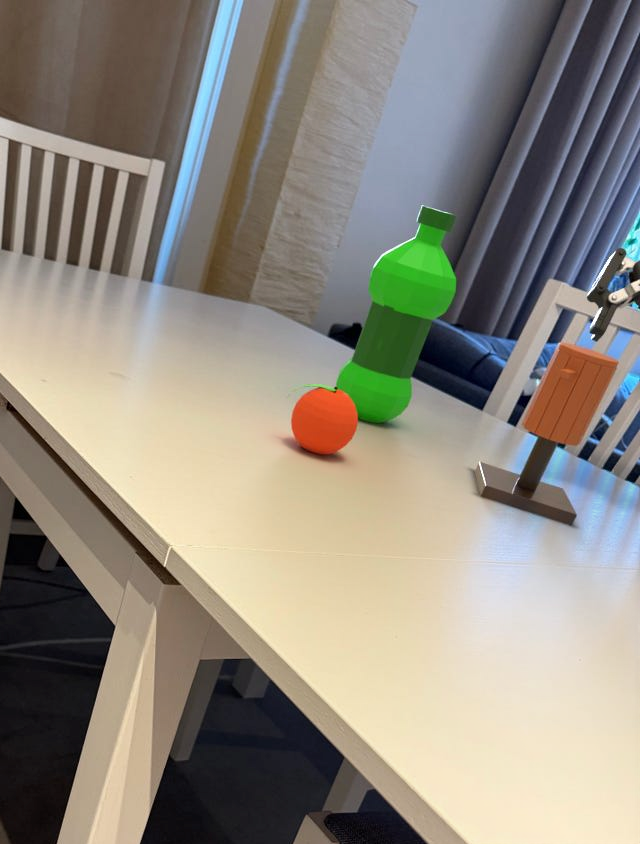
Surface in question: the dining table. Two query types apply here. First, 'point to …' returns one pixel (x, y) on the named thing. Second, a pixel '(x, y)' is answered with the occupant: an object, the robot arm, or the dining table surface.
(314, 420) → the clementine
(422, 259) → the plastic bottle
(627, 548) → the dining table surface
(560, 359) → the orange letterbox
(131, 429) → the dining table surface
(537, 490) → the stand
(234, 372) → the dining table surface
